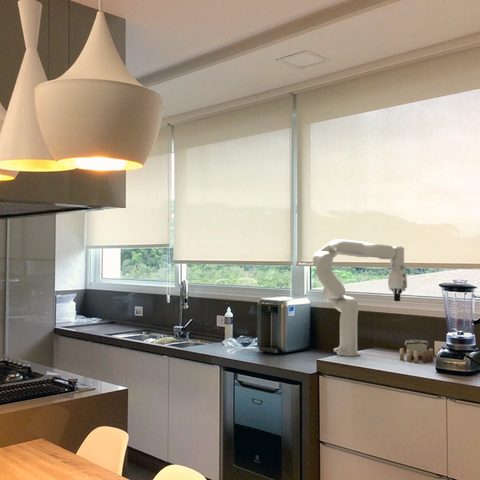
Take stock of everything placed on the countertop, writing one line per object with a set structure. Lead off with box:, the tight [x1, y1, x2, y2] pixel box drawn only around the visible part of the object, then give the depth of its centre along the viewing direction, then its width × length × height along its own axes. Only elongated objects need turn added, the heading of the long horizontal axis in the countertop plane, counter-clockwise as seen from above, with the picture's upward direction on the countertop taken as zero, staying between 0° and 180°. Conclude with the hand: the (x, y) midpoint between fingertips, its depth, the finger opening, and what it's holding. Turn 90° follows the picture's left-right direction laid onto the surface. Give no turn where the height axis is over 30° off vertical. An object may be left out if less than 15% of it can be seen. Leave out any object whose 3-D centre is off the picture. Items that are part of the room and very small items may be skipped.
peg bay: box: [399, 347, 435, 364], centre depth 287 cm, size 14×14×6 cm
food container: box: [404, 339, 429, 362], centre depth 290 cm, size 12×6×10 cm, turn 95°
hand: (397, 301), depth 310 cm, fingers closed
